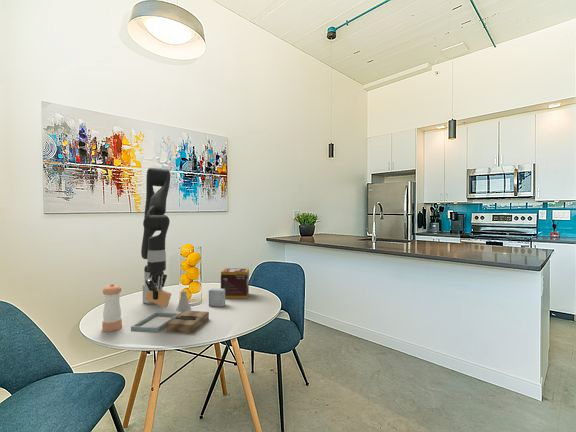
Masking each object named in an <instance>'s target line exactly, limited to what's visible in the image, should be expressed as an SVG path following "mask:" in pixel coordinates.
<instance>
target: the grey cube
mask: <svg viewBox="0 0 576 432" xmlns="http://www.w3.org/2000/svg"><path fill="white" fill-rule="evenodd" d="M225 304H226V298H225V289H221V288H214V287H213V288H210V289H208V307H224V306H225Z"/></svg>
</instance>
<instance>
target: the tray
mask: <svg viewBox="0 0 576 432" xmlns="http://www.w3.org/2000/svg"><path fill="white" fill-rule="evenodd" d="M178 314H180V312H179V313H175V312H164V311H163V312H161V311H160V312H159V311H155V312H154V313H152V314H149V315H148V316H146V317H145V318H143V319H142V320H140V321H138V322H136V323H134V324H133V325H131V326H130V332H133V331H136V332H137V331H139V332H151V333H159V332H160V331H161V330H163V329H164V328H166V323H167V322H168V321H170V320H171V319H172V318H174V317H175V316H177V315H178ZM156 317H166V318H167V317H171V318H170V319H167V320H166V321H165V322H164V323H162V324H161V325H158V327H151V326H143V325H145V324H146V323H147V322H149V321H151V320H153V319H154V318H156Z"/></svg>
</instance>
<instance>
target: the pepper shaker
mask: <svg viewBox="0 0 576 432" xmlns="http://www.w3.org/2000/svg"><path fill="white" fill-rule="evenodd" d="M121 292H122V287H121V286H120V285H117V284H115V283H110V285H107V286H105V287H104V288H103V289H102V294H103V295H104V306H103V313H102V314H103V315H102V318H103V319H102V325H101V326H102V329H101V330H102V331H104V332H114V331H117V330H120V329H121V328H122V327H123V323H122V322H123V319H122V310H121V308H122V307H121V303H120V293H121Z"/></svg>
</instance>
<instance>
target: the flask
mask: <svg viewBox="0 0 576 432" xmlns="http://www.w3.org/2000/svg"><path fill="white" fill-rule="evenodd" d="M179 293H180V297H179V302H178V304H177V307H176V311H177V312H179V313H181V312H183V311H184V310H186V311H191V310H192V307H191V305H190V303H189V300H188V297H187V295H188V294H187V293H188V290H187V291H186V290H182V291H180V292H179Z"/></svg>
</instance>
